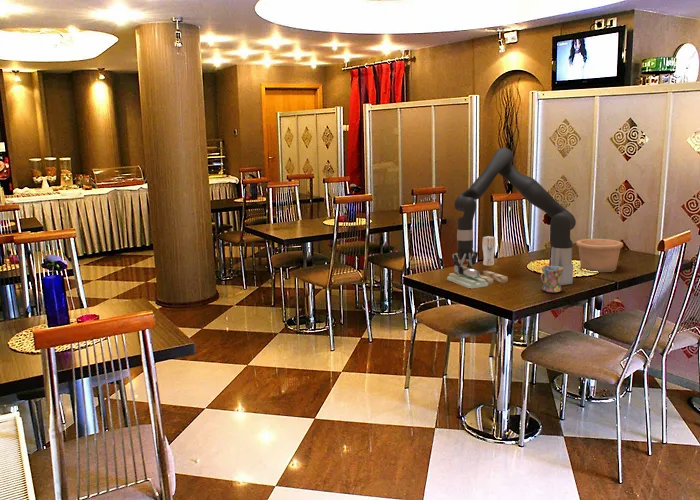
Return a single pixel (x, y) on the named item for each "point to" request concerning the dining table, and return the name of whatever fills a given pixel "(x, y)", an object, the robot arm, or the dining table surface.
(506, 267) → the dining table surface
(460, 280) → the grooved block
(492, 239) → the beer glass
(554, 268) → the mug
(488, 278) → the wooden blocks
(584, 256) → the pottery
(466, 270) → the axle
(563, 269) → the robot arm
